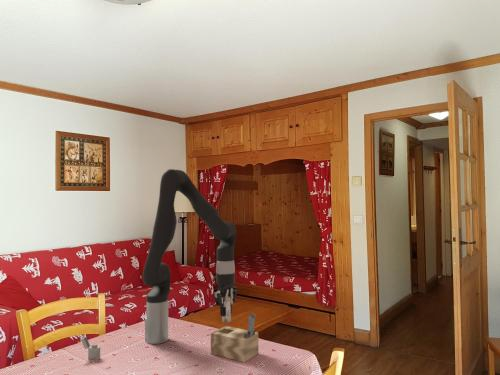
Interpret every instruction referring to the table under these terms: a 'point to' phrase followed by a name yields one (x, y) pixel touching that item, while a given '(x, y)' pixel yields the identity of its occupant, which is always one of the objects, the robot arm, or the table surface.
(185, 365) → the table surface
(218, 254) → the robot arm
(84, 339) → the lighter
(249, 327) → the grey handle
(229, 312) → the pin
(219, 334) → the block
